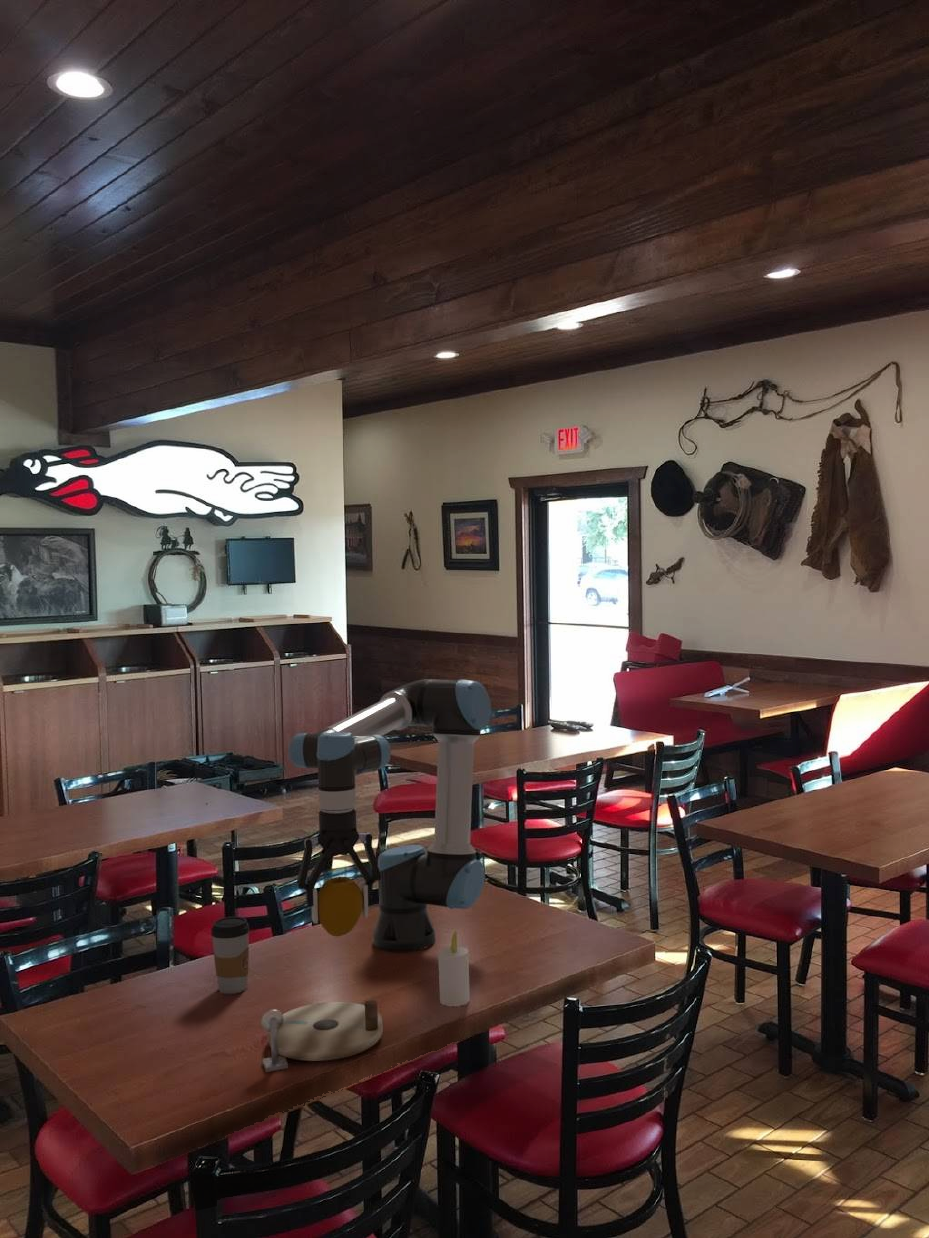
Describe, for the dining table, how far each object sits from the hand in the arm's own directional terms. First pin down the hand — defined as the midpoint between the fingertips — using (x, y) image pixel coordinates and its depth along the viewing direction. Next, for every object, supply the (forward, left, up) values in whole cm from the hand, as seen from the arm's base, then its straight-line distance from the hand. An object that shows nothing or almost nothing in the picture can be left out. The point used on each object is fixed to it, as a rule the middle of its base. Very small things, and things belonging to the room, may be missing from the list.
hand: (340, 918), depth 215 cm
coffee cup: (+19, -25, -21) cm, 38 cm away
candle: (-24, +1, -21) cm, 31 cm away
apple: (0, 0, -3) cm, 3 cm away
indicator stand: (+16, +16, -21) cm, 31 cm away
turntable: (+5, +9, -21) cm, 23 cm away
